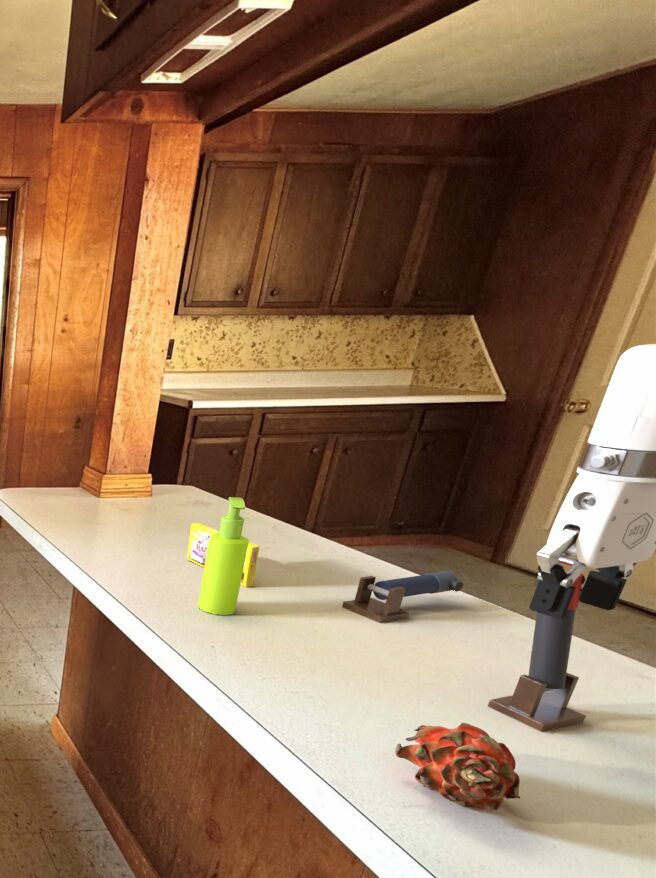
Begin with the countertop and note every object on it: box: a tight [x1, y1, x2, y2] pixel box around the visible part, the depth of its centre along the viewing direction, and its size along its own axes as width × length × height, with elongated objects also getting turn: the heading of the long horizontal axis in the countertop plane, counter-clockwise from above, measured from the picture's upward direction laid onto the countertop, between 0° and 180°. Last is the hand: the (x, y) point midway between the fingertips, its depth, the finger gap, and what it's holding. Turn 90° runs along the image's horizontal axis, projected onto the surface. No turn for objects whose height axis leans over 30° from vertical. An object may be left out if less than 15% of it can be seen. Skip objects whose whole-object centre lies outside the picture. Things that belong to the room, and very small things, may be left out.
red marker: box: [527, 571, 586, 691], centre depth 81 cm, size 15×5×4 cm
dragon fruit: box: [394, 722, 521, 811], centre depth 70 cm, size 8×8×12 cm
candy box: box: [186, 522, 261, 588], centre depth 131 cm, size 16×2×8 cm, turn 14°
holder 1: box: [341, 575, 411, 624], centre depth 112 cm, size 6×7×6 cm
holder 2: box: [487, 672, 587, 732], centre depth 83 cm, size 6×7×6 cm
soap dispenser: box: [197, 496, 250, 616], centre depth 113 cm, size 6×7×20 cm
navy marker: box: [367, 570, 464, 601], centre depth 113 cm, size 15×5×4 cm, turn 104°
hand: (571, 608), depth 79 cm, fingers open, 7 cm apart
